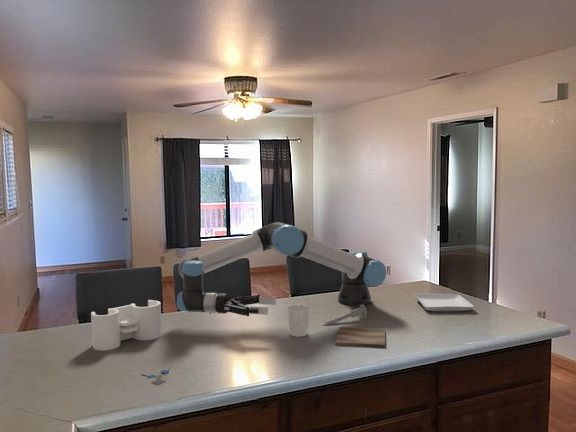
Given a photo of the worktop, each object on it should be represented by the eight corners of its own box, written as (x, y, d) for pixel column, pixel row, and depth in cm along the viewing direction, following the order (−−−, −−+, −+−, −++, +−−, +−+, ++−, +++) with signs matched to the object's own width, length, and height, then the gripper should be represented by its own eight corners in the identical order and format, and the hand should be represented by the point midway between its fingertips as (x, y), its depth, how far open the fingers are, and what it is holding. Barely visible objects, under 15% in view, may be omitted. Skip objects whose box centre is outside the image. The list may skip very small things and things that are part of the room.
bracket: (100, 353, 164) (98, 318, 163) (89, 346, 171) (87, 312, 170) (166, 335, 181) (165, 303, 180) (154, 329, 188) (152, 299, 187)
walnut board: (339, 329, 186) (339, 326, 186) (384, 331, 182) (384, 329, 182) (335, 344, 169) (335, 342, 169) (385, 347, 166) (385, 344, 166)
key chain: (164, 386, 138) (164, 383, 138) (135, 388, 137) (135, 385, 137) (172, 367, 152) (172, 364, 152) (145, 368, 151) (145, 365, 151)
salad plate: (475, 313, 206) (475, 305, 205) (424, 314, 206) (425, 306, 206) (458, 300, 227) (458, 293, 226) (412, 301, 227) (412, 293, 227)
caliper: (365, 318, 201) (365, 303, 200) (366, 318, 200) (366, 303, 199) (322, 325, 191) (322, 310, 191) (324, 326, 190) (324, 310, 190)
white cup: (294, 338, 176) (294, 311, 175) (284, 332, 183) (284, 306, 182) (313, 335, 179) (313, 308, 178) (302, 329, 186) (302, 303, 185)
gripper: (227, 304, 198) (278, 306, 194) (206, 322, 174) (264, 325, 170) (227, 286, 198) (278, 288, 194) (205, 301, 173) (263, 304, 169)
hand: (271, 305), depth 182 cm, fingers open, 13 cm apart
